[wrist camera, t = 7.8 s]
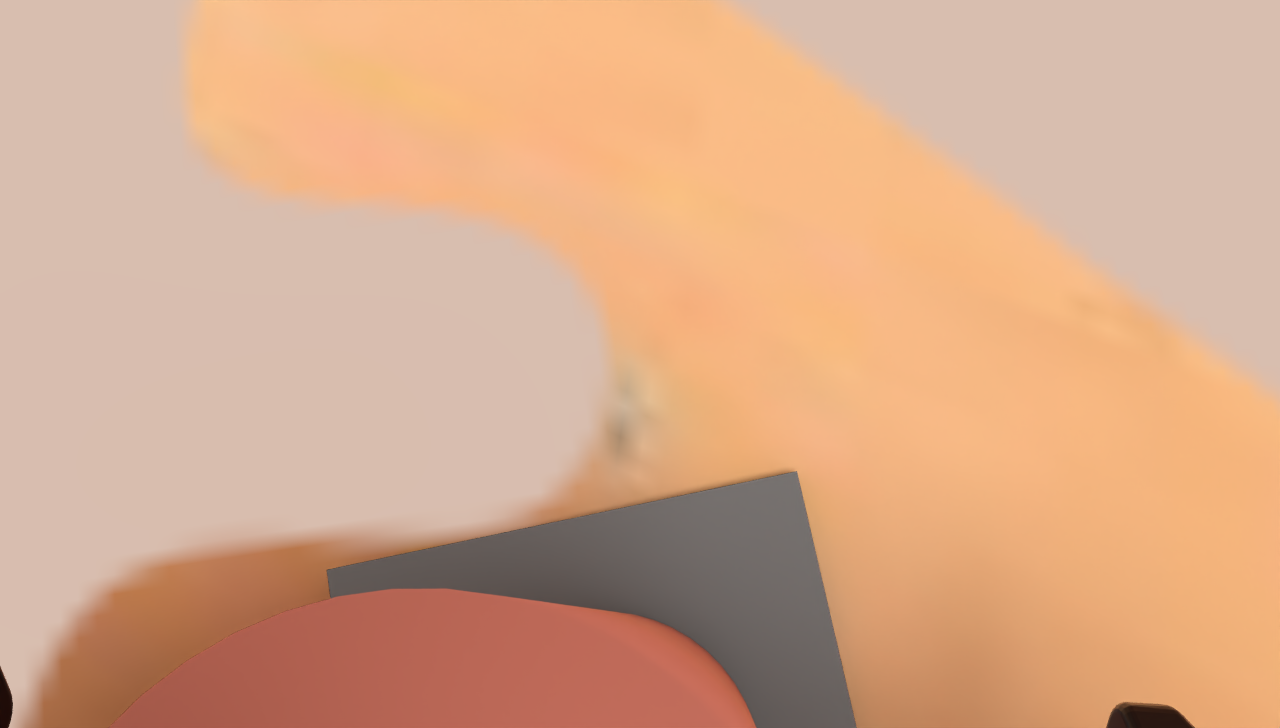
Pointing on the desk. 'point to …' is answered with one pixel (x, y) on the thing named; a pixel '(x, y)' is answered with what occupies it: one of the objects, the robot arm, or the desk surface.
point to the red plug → (446, 669)
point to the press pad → (671, 585)
